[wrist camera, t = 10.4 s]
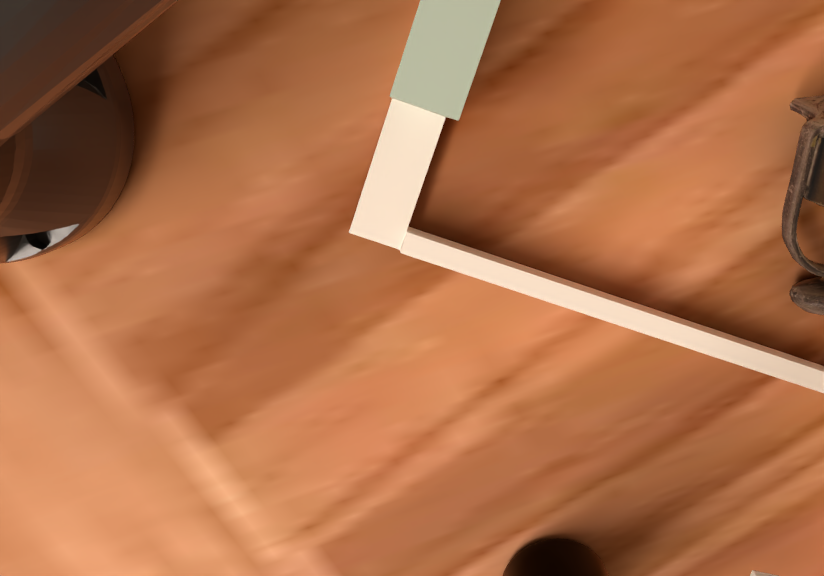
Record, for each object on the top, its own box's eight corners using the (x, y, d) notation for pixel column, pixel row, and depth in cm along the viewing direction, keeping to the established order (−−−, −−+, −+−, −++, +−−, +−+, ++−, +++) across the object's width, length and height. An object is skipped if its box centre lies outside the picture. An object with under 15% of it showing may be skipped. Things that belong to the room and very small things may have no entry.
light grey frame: (350, 228, 39) (334, 268, 29) (493, -216, 33) (529, -340, 24) (833, 389, 42) (956, 470, 33) (1039, 8, 36) (1259, -26, 27)
